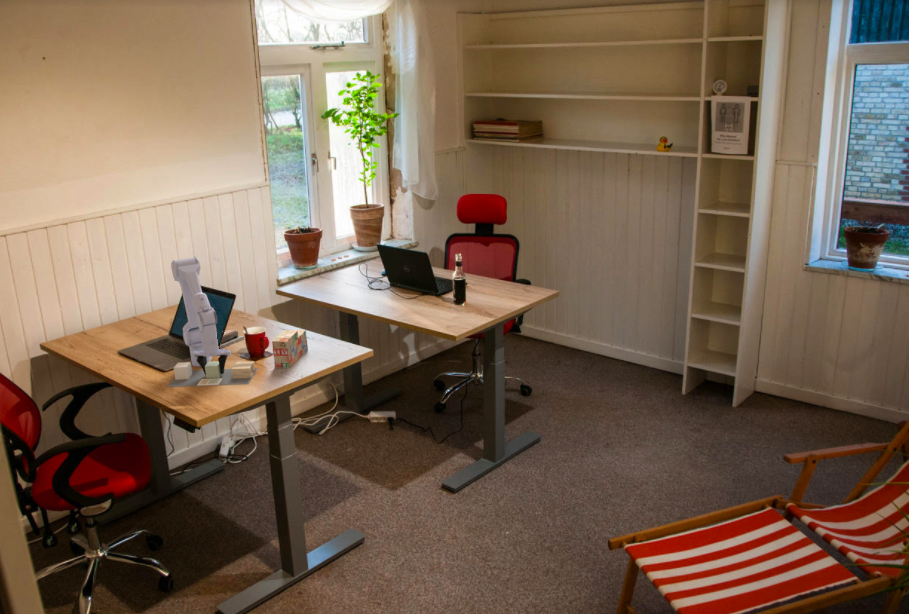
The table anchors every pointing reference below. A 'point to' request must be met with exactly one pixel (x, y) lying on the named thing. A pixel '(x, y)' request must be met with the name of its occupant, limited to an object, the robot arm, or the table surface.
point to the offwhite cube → (183, 370)
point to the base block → (243, 369)
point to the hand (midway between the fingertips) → (214, 373)
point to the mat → (199, 374)
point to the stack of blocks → (289, 347)
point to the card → (209, 382)
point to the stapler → (230, 338)
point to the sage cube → (213, 369)
